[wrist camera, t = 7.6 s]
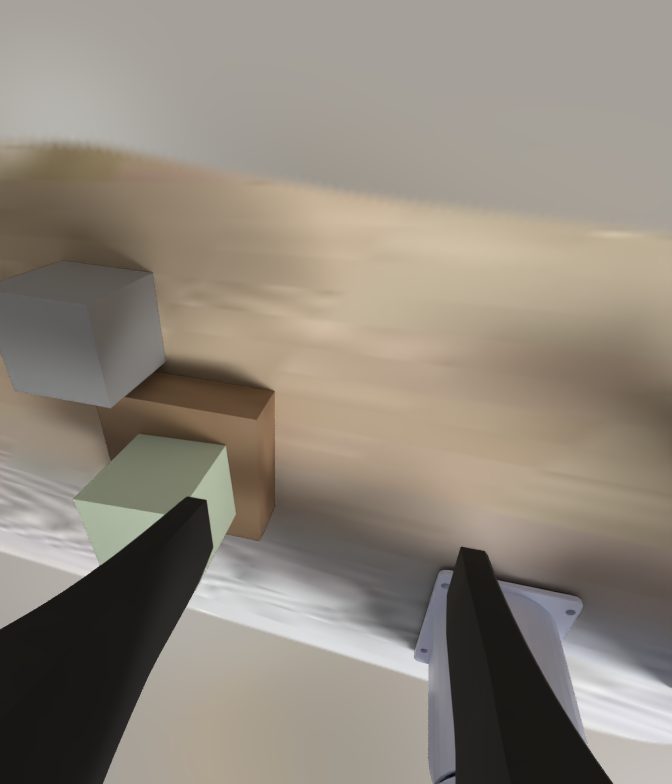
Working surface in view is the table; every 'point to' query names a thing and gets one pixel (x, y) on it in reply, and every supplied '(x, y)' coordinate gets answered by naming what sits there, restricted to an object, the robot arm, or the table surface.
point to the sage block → (155, 491)
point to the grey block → (80, 331)
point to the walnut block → (207, 434)
